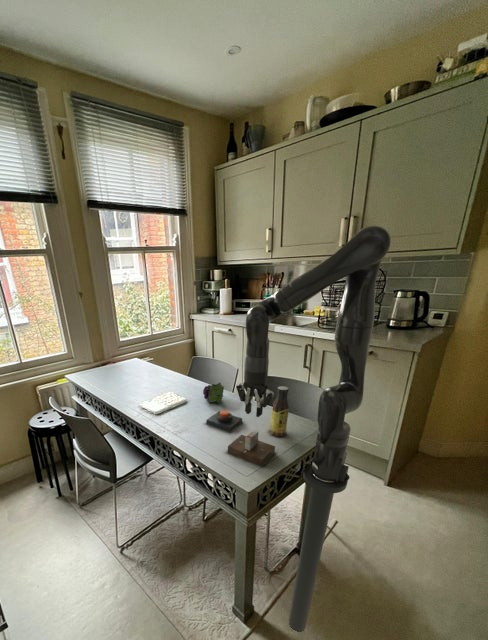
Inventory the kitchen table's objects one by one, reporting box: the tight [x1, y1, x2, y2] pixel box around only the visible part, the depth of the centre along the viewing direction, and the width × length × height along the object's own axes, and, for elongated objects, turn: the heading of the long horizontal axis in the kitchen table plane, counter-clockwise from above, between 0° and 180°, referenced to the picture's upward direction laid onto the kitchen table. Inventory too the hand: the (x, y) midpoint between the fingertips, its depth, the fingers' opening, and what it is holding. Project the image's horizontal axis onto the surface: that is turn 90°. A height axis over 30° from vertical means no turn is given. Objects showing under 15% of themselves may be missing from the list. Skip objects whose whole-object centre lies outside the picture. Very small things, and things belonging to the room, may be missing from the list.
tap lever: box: [245, 429, 259, 451], centre depth 114 cm, size 6×2×5 cm, turn 141°
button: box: [220, 410, 230, 418], centre depth 135 cm, size 4×4×2 cm
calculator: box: [139, 391, 187, 415], centre depth 156 cm, size 13×20×2 cm, turn 132°
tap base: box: [227, 434, 276, 467], centre depth 116 cm, size 14×10×3 cm
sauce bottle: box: [269, 385, 290, 437], centre depth 125 cm, size 7×6×20 cm
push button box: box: [205, 410, 243, 433], centre depth 137 cm, size 12×10×4 cm
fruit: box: [202, 382, 225, 404], centre depth 156 cm, size 10×11×15 cm
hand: (253, 414), depth 110 cm, fingers open, 3 cm apart
